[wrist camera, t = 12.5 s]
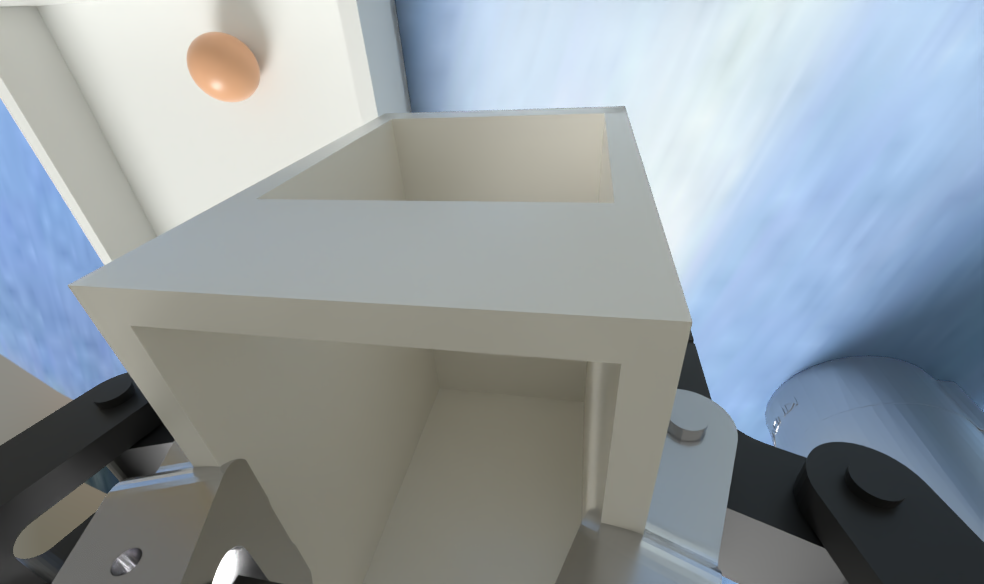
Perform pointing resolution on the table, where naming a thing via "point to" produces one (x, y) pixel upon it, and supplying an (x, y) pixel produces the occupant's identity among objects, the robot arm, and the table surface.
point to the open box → (421, 341)
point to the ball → (223, 67)
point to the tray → (186, 99)
